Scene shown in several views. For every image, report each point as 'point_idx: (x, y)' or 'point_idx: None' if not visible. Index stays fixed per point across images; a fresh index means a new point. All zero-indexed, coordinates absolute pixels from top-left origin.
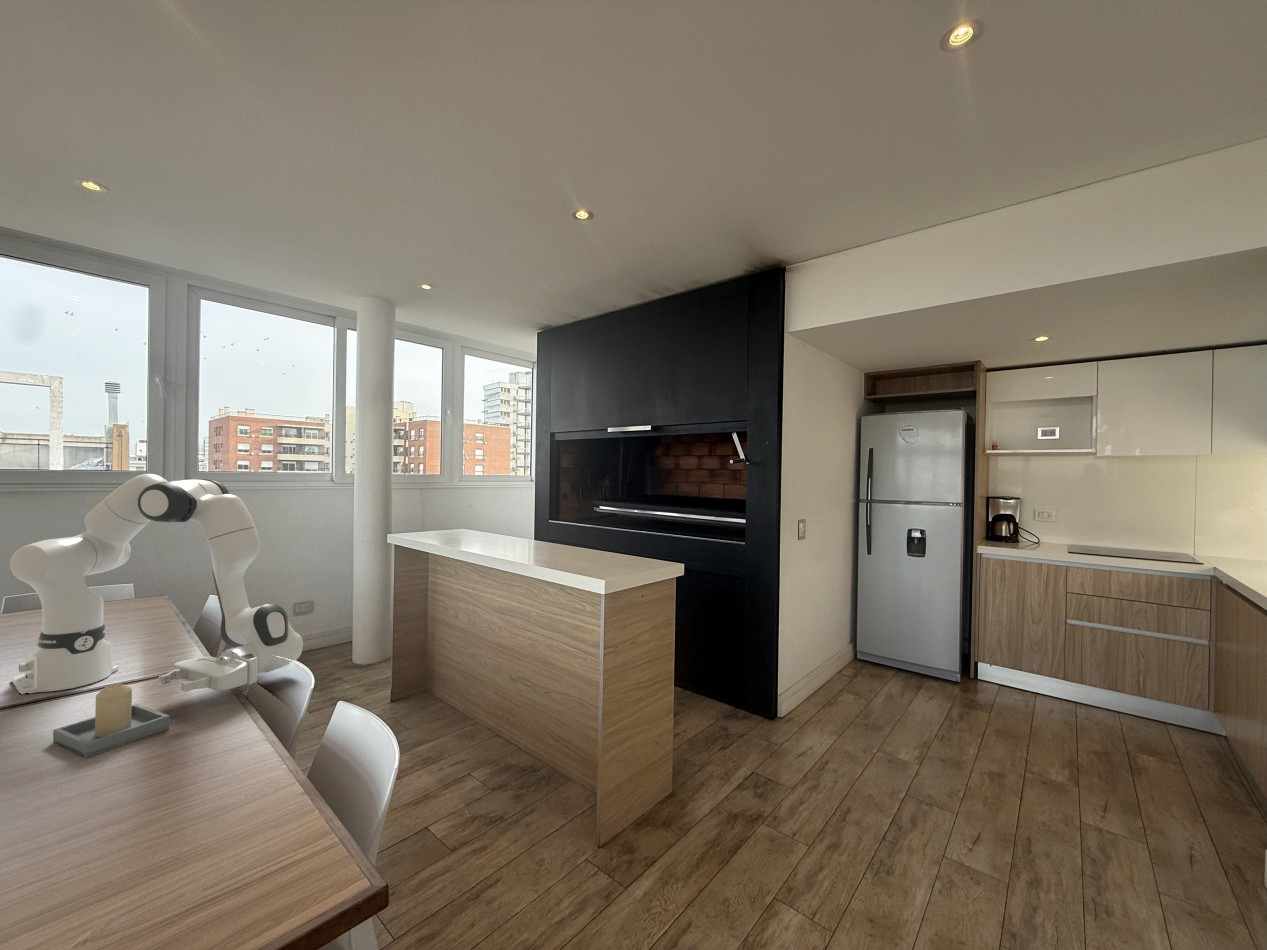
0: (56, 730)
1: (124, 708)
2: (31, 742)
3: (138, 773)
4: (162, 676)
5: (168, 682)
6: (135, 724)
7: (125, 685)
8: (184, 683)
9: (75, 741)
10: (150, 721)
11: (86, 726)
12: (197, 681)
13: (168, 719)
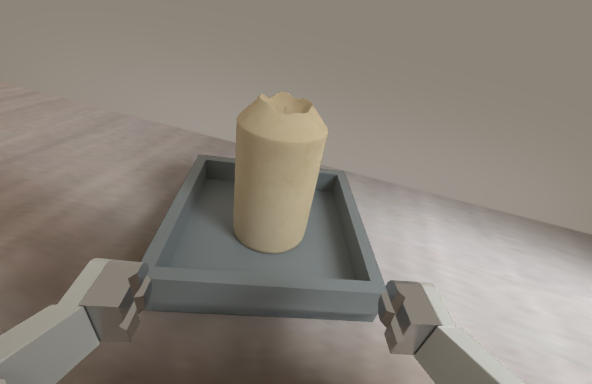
0: (335, 171)
1: (235, 170)
2: (373, 190)
3: (8, 171)
4: (415, 288)
5: (386, 339)
6: (262, 264)
7: (287, 123)
8: (116, 262)
9: None
10: (162, 233)
11: (341, 211)
12: (21, 327)
13: None
